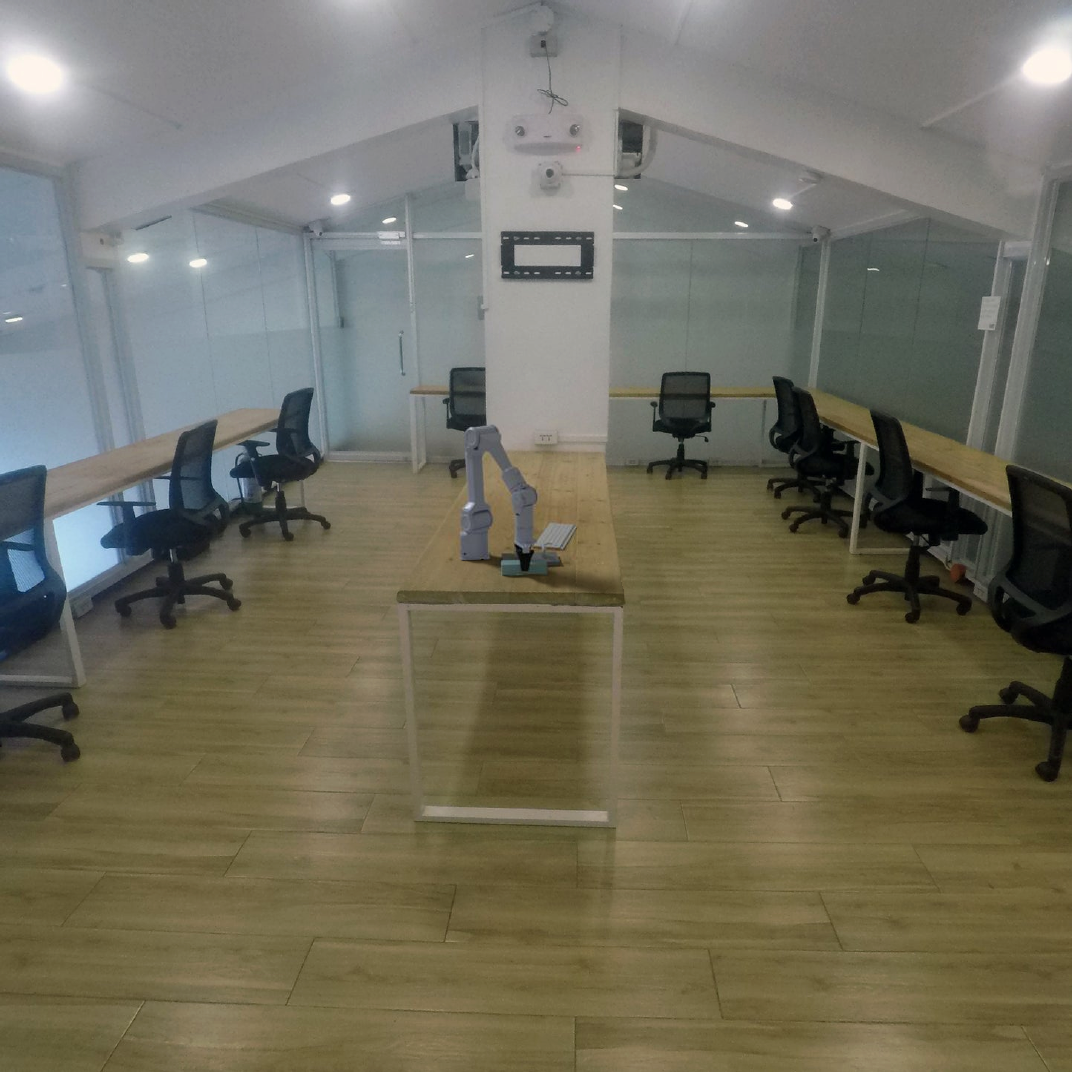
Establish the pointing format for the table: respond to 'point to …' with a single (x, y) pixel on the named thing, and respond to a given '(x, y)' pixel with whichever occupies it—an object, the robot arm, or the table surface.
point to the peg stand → (536, 556)
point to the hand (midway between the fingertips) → (524, 568)
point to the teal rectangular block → (514, 567)
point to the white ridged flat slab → (555, 536)
